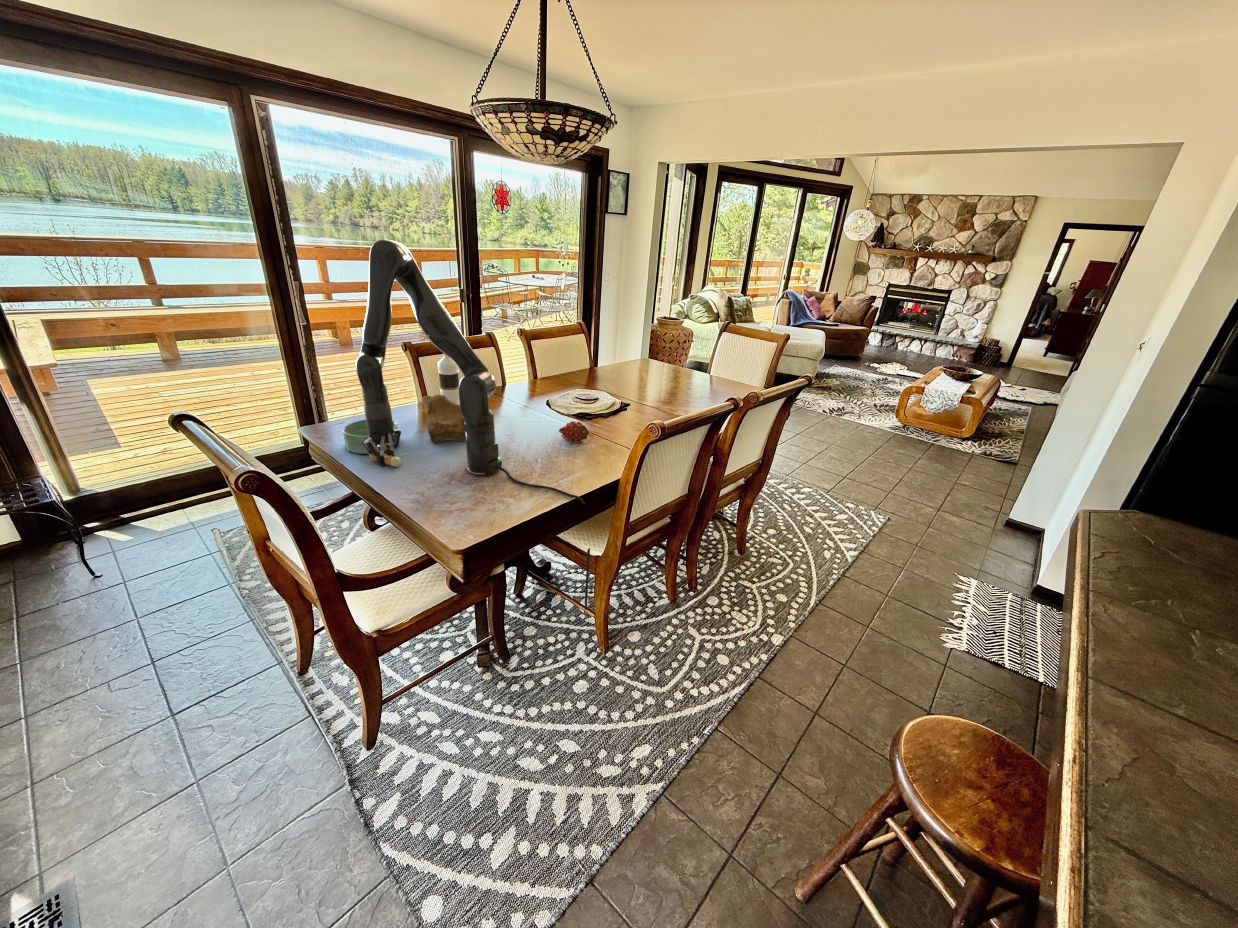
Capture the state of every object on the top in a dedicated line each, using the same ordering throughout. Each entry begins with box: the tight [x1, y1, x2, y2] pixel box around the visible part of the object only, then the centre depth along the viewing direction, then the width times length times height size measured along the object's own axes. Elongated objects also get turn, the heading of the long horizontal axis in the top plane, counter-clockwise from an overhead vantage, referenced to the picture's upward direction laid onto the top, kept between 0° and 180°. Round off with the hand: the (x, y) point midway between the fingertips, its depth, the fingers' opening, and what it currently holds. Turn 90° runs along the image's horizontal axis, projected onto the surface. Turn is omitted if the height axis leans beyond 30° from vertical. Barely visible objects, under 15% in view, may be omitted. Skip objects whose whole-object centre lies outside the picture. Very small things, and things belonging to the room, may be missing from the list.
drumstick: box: [368, 451, 402, 468], centre depth 159 cm, size 12×5×5 cm, turn 65°
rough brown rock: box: [421, 394, 466, 443], centre depth 179 cm, size 23×17×15 cm
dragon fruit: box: [558, 421, 589, 444], centre depth 186 cm, size 8×8×12 cm
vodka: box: [436, 353, 460, 405], centre depth 203 cm, size 9×9×30 cm
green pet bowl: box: [342, 418, 399, 455], centre depth 171 cm, size 17×17×7 cm
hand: (386, 462), depth 160 cm, fingers closed on drumstick, 3 cm apart
